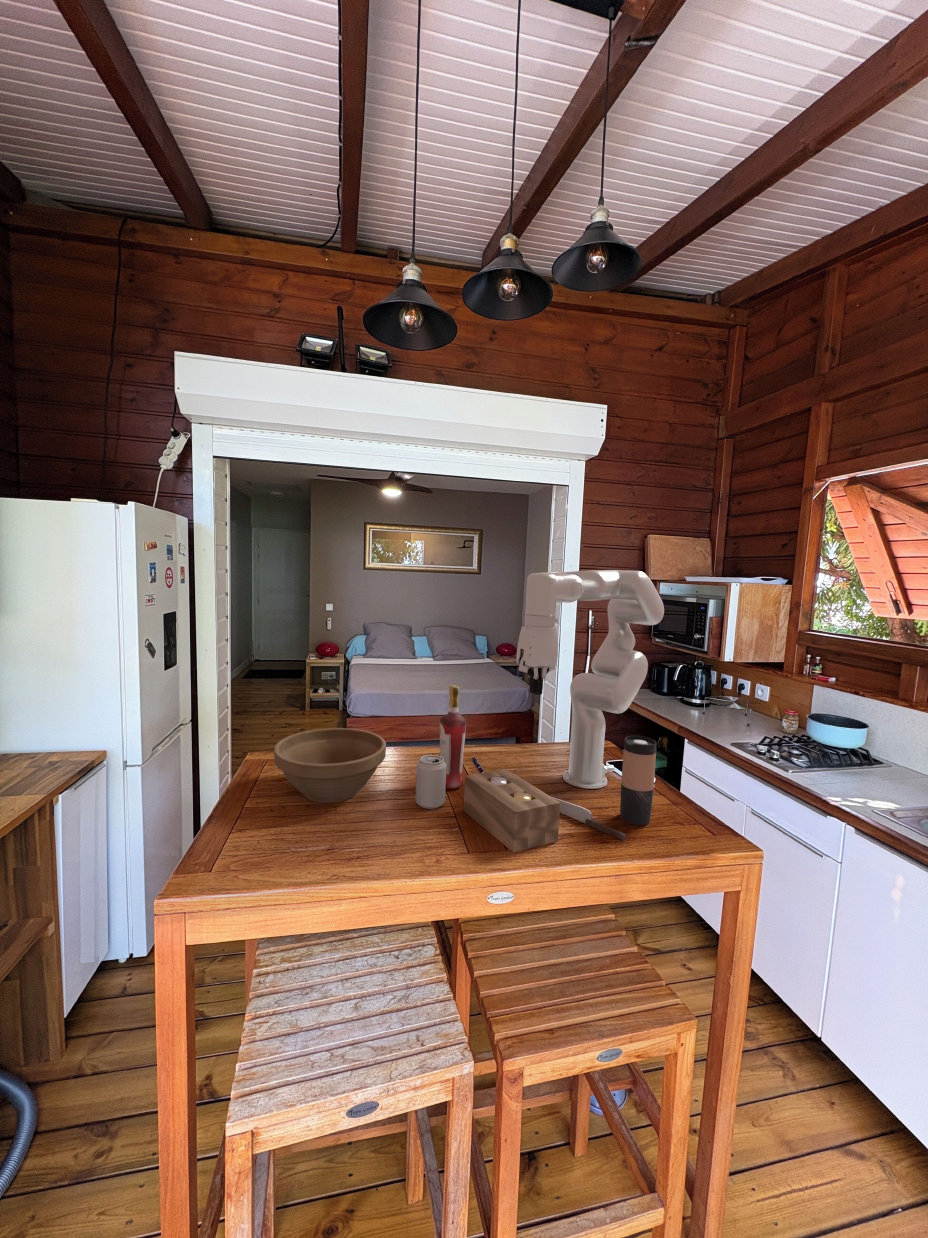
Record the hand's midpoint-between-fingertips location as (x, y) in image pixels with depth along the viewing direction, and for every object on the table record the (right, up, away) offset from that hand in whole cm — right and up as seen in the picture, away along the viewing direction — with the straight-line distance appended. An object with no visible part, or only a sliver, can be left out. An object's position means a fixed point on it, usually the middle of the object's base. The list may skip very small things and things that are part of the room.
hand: (535, 693), depth 138 cm
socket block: (-8, -30, -10) cm, 32 cm away
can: (-27, -28, 0) cm, 39 cm away
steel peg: (-10, -29, -6) cm, 31 cm away
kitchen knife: (+8, -31, -4) cm, 32 cm away
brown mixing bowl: (-54, -27, +4) cm, 60 cm away
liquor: (-22, -28, +12) cm, 37 cm away
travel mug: (+24, -31, -4) cm, 39 cm away
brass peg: (-5, -30, -15) cm, 33 cm away
